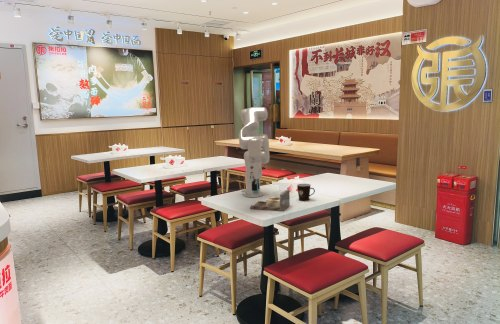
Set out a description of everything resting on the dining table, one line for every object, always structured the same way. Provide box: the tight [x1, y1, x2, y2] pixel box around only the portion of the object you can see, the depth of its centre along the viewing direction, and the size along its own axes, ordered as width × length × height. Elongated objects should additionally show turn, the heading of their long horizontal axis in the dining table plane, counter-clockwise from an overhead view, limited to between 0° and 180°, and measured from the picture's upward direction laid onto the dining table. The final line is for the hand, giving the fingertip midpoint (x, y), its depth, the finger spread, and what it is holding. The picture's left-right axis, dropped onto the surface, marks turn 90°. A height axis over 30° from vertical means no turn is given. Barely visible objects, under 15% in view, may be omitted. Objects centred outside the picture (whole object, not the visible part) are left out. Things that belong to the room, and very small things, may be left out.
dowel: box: [253, 179, 258, 194], centre depth 224 cm, size 3×3×8 cm
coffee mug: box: [296, 183, 316, 202], centre depth 245 cm, size 12×9×10 cm
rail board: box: [249, 189, 291, 212], centre depth 231 cm, size 21×13×10 cm, turn 68°
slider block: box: [265, 196, 280, 208], centre depth 230 cm, size 9×9×4 cm
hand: (255, 189), depth 224 cm, fingers closed on dowel, 3 cm apart
